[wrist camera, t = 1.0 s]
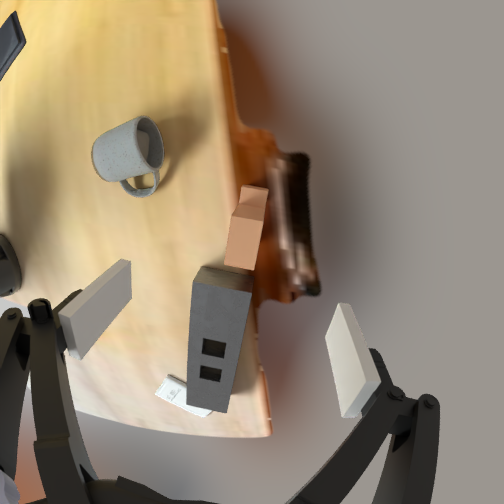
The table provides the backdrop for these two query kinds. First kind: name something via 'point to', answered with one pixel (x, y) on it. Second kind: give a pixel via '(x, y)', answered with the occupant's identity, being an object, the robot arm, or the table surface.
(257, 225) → the tan wooden block
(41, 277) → the table surface
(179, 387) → the external hard drive
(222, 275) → the rail
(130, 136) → the ceramic mug
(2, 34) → the dark gray flat slab
